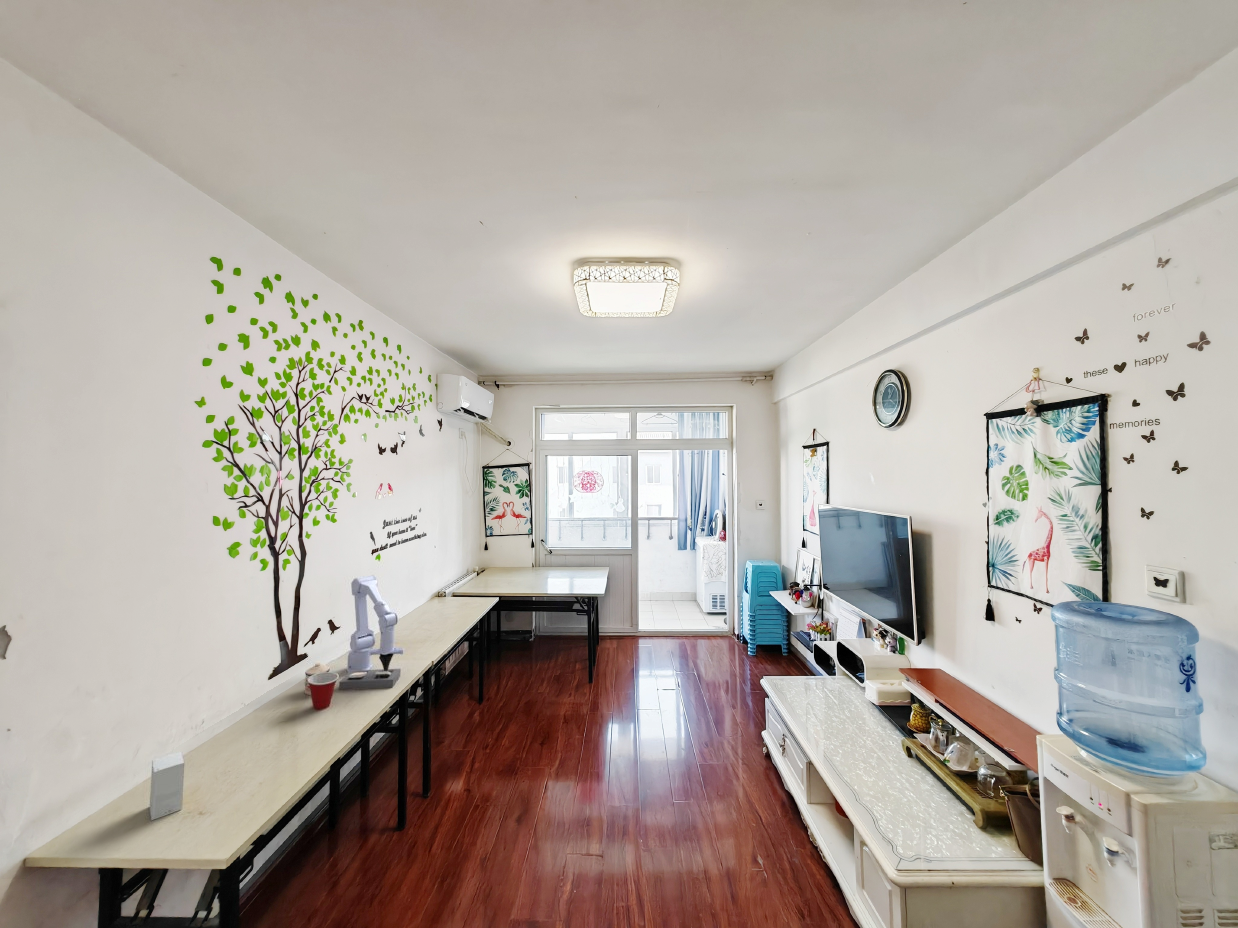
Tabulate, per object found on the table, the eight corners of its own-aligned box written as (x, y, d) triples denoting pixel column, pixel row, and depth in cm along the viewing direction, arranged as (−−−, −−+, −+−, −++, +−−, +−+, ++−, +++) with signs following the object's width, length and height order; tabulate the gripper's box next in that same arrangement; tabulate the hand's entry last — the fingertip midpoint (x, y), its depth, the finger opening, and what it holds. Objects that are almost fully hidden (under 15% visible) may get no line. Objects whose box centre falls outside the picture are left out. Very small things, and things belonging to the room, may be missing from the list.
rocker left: (348, 677, 210) (348, 674, 211) (355, 674, 218) (355, 672, 218) (360, 677, 211) (361, 674, 211) (366, 674, 219) (367, 671, 219)
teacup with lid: (299, 695, 202) (300, 667, 202) (312, 685, 211) (313, 659, 211) (327, 695, 202) (328, 668, 202) (340, 686, 211) (341, 659, 211)
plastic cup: (324, 714, 187) (325, 683, 187) (299, 711, 188) (300, 681, 188) (344, 701, 197) (345, 672, 198) (320, 699, 199) (321, 670, 199)
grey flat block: (338, 689, 208) (339, 681, 208) (349, 678, 219) (349, 670, 220) (392, 687, 211) (392, 679, 211) (400, 675, 223) (400, 668, 223)
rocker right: (375, 674, 212) (375, 671, 213) (380, 676, 219) (380, 673, 220) (387, 673, 213) (387, 670, 214) (391, 675, 220) (392, 672, 221)
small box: (182, 809, 133) (184, 762, 134) (150, 821, 129) (153, 772, 129) (179, 795, 139) (181, 750, 139) (149, 806, 134) (151, 759, 135)
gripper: (367, 643, 215) (366, 674, 214) (401, 642, 217) (400, 672, 217) (372, 638, 222) (371, 667, 221) (405, 637, 224) (404, 666, 224)
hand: (386, 669), depth 219 cm, fingers closed
